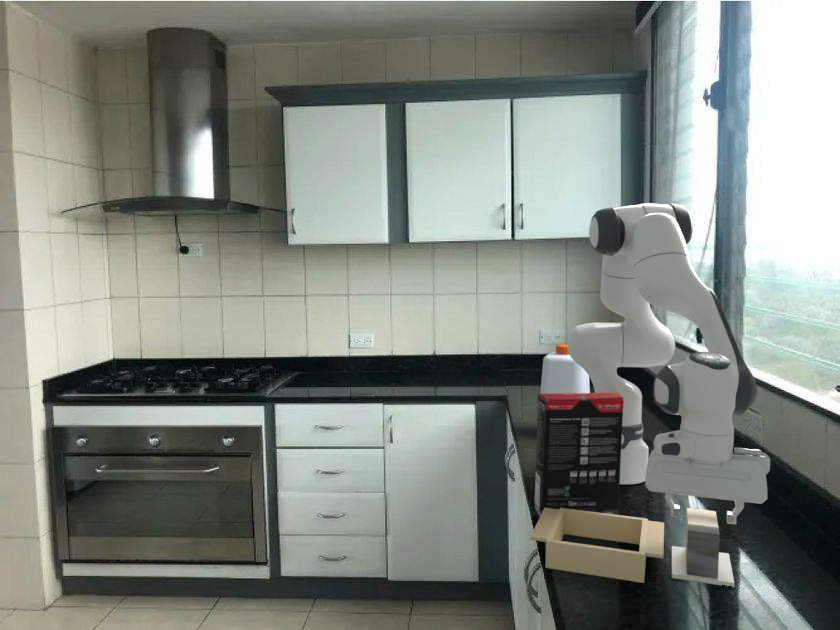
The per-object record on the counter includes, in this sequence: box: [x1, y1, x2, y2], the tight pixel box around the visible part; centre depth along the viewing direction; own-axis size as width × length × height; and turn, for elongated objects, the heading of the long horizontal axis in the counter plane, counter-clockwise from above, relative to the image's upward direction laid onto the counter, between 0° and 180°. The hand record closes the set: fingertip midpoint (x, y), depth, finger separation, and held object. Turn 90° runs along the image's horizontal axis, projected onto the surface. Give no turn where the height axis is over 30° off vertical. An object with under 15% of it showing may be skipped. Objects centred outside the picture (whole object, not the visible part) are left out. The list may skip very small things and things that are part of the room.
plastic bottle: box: [539, 343, 591, 394], centre depth 212 cm, size 15×15×28 cm
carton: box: [530, 508, 665, 584], centre depth 130 cm, size 17×23×5 cm
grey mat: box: [671, 545, 735, 588], centre depth 125 cm, size 12×10×1 cm
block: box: [684, 507, 721, 579], centre depth 125 cm, size 11×5×8 cm, turn 160°
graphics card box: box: [533, 392, 624, 520], centre depth 146 cm, size 17×7×27 cm, turn 96°
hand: (702, 519), depth 125 cm, fingers open, 8 cm apart
